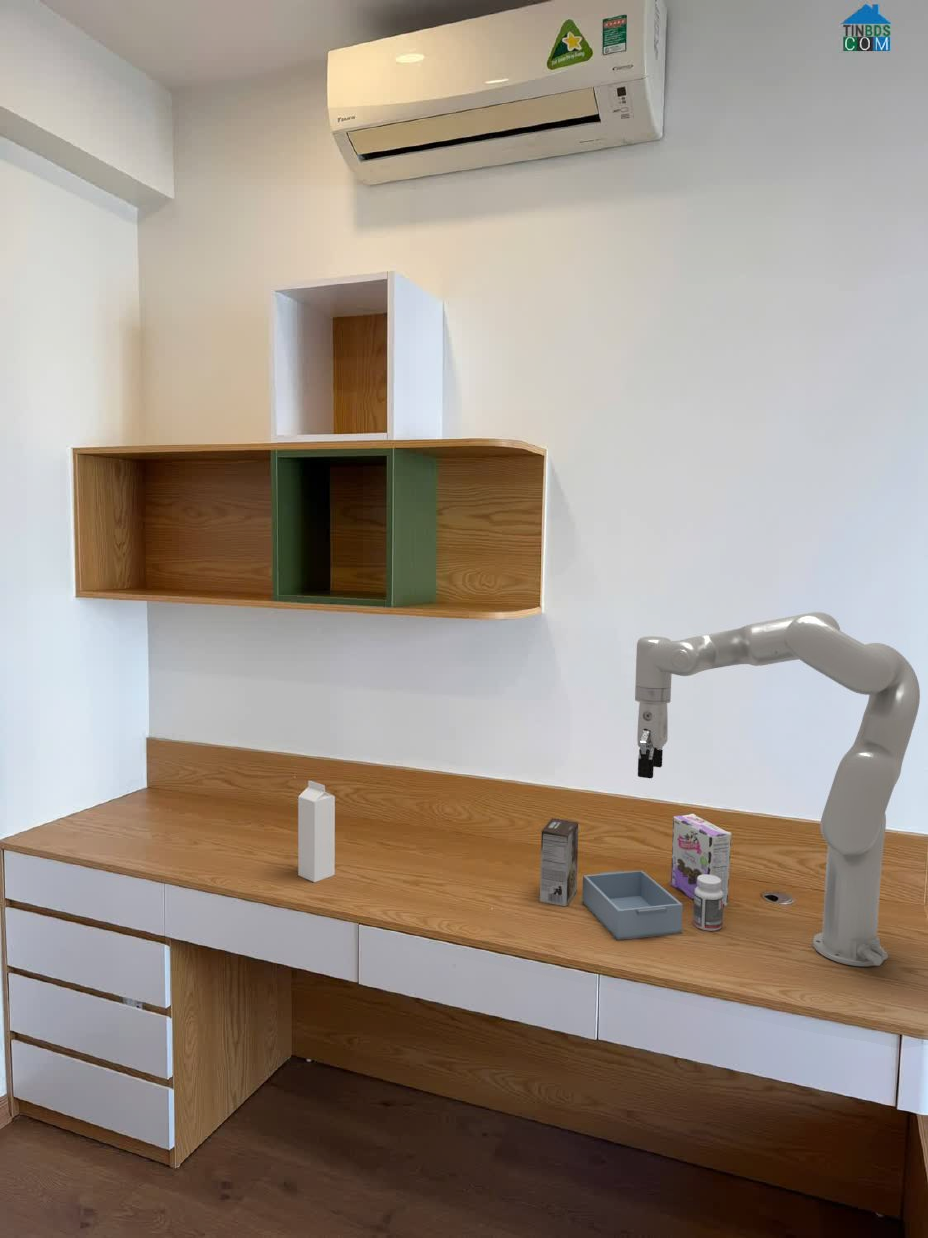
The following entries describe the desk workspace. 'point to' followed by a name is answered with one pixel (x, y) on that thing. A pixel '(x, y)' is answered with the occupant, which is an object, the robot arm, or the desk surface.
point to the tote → (631, 904)
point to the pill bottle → (708, 903)
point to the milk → (316, 833)
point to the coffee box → (559, 862)
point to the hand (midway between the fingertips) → (650, 771)
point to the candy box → (699, 854)
